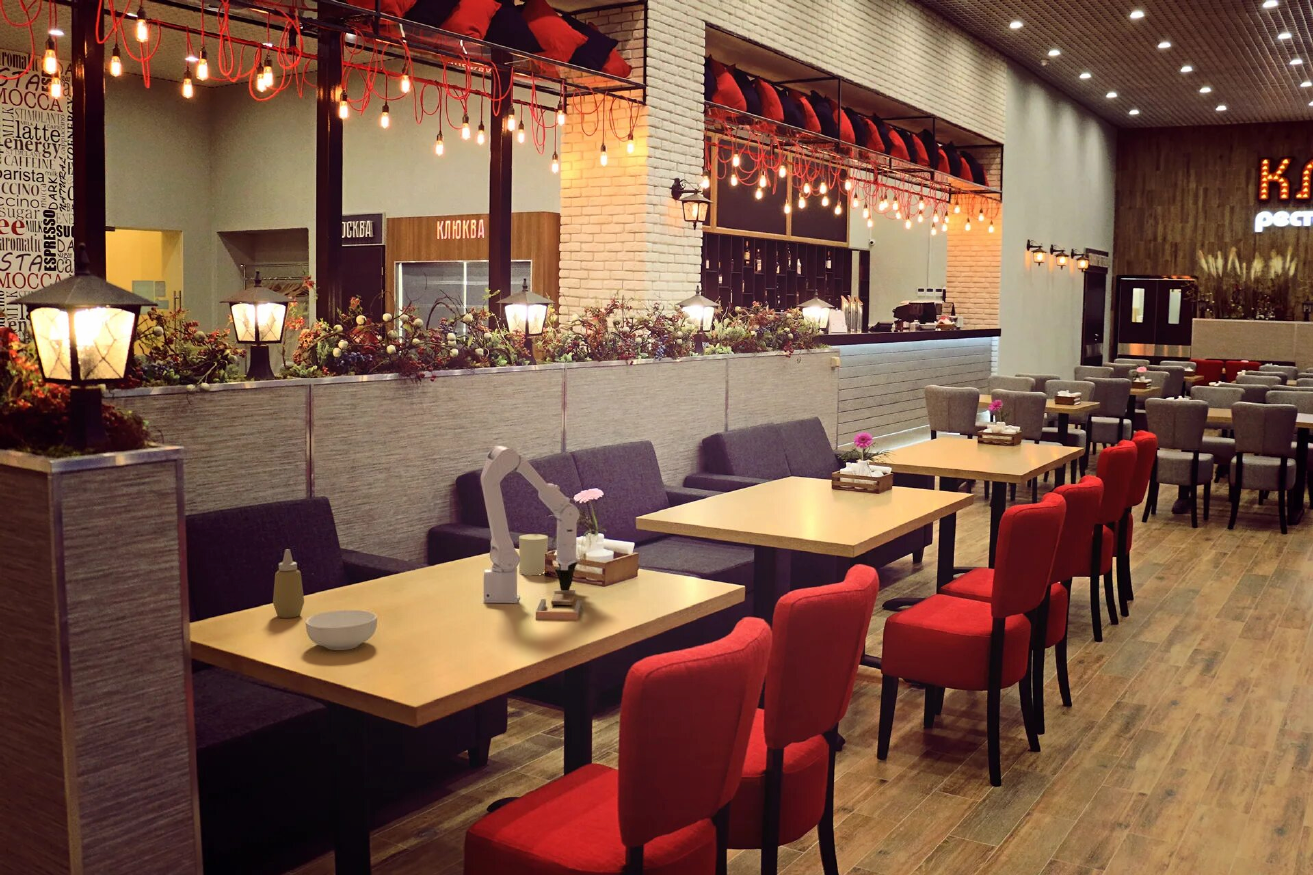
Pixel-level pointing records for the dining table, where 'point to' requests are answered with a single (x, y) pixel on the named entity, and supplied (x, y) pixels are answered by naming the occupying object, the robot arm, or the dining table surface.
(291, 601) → the squeeze bottle
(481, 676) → the dining table surface
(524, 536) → the can
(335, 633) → the cereal bowl
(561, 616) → the tray
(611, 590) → the dining table surface
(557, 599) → the brown slab
